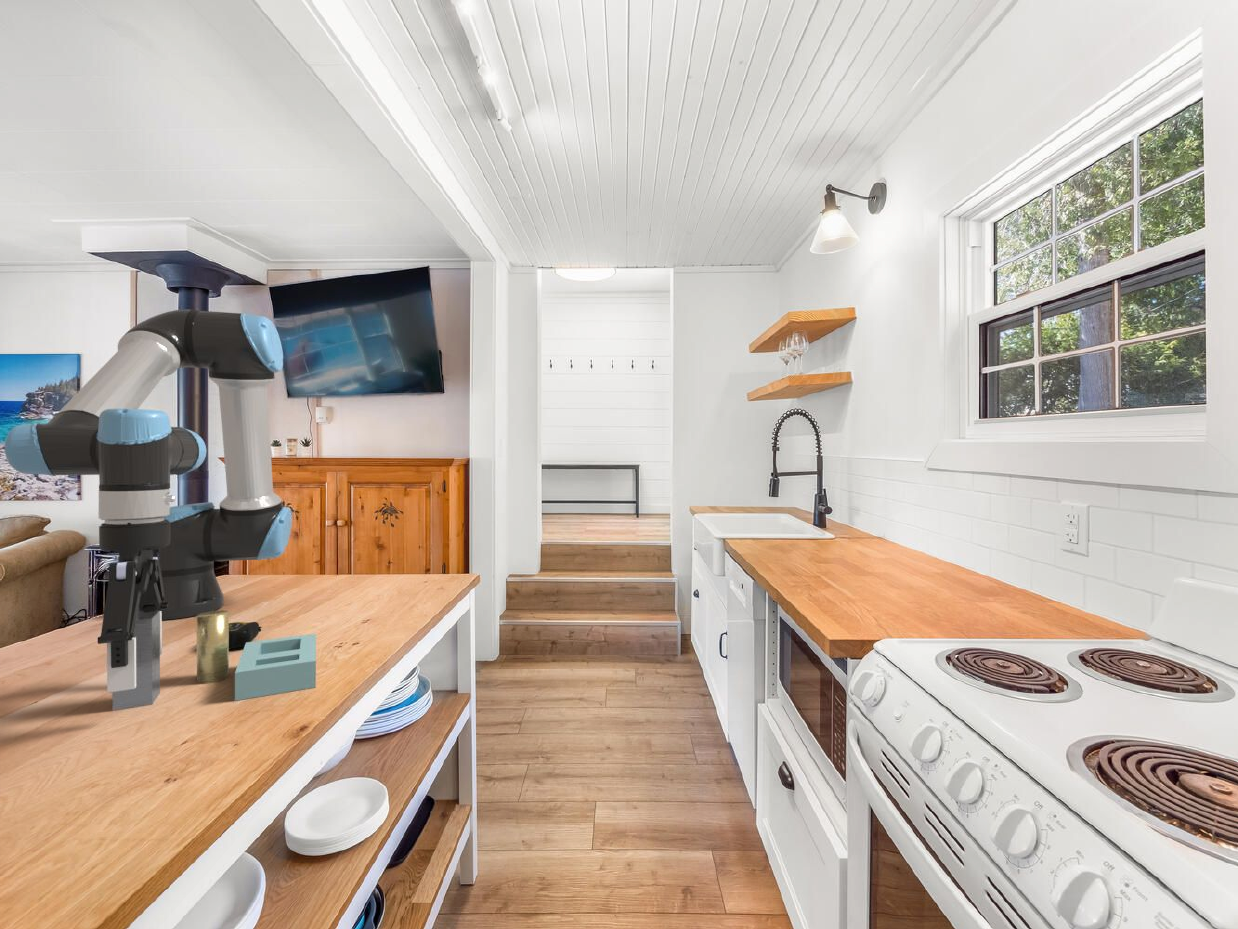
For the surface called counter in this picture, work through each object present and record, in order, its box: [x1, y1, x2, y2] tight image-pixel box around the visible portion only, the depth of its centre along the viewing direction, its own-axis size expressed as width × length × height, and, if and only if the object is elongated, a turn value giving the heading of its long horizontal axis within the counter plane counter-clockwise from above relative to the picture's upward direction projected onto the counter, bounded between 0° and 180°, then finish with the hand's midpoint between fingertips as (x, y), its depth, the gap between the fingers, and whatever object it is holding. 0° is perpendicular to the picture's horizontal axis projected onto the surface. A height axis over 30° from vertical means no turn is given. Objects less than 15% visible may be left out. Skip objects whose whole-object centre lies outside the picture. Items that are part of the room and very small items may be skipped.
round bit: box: [196, 609, 230, 684], centre depth 86 cm, size 4×4×10 cm
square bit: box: [112, 611, 161, 712], centre depth 78 cm, size 4×4×12 cm
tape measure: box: [229, 621, 262, 650], centre depth 100 cm, size 7×7×4 cm
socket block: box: [234, 633, 317, 702], centre depth 87 cm, size 14×10×4 cm
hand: (136, 671), depth 78 cm, fingers open, 13 cm apart
